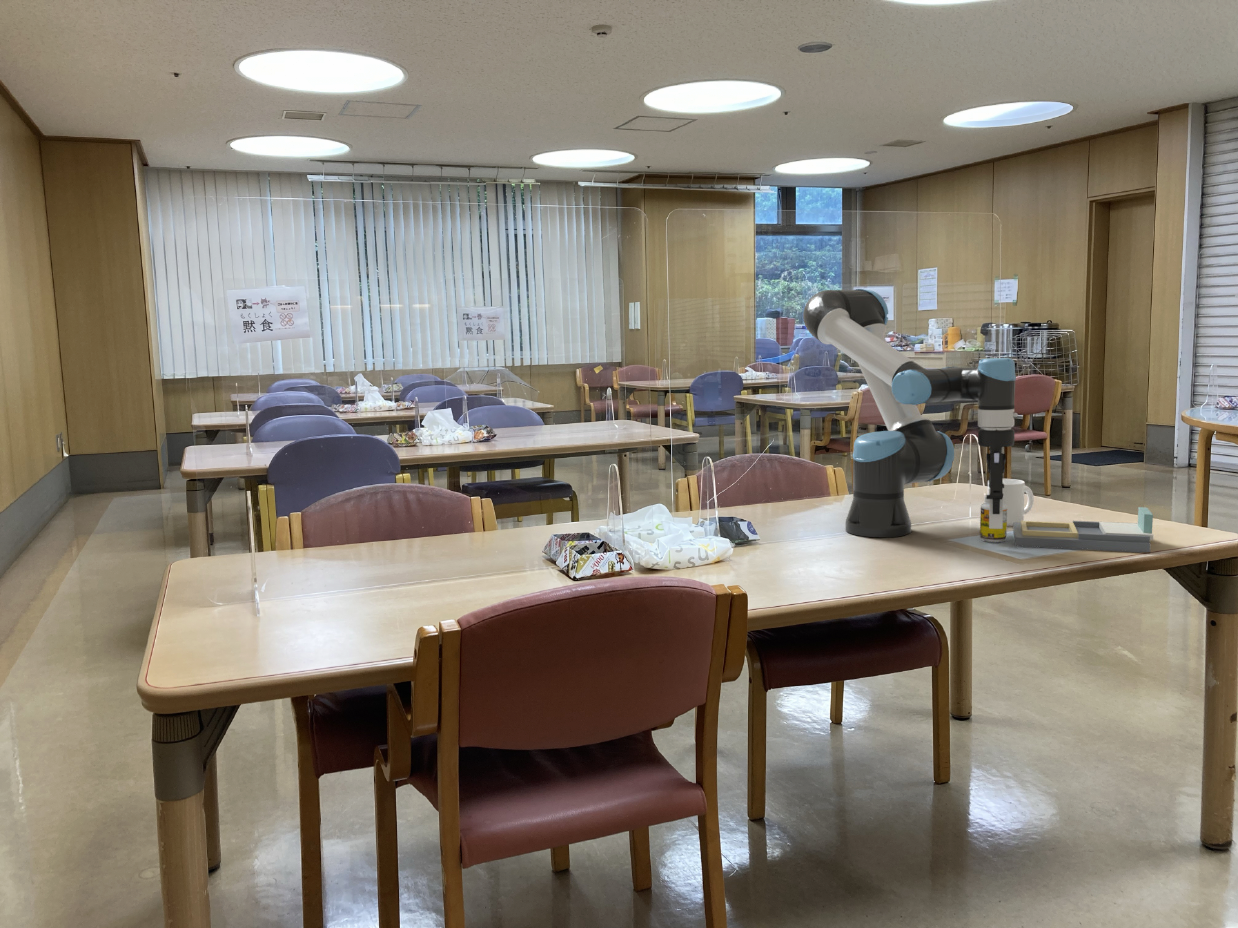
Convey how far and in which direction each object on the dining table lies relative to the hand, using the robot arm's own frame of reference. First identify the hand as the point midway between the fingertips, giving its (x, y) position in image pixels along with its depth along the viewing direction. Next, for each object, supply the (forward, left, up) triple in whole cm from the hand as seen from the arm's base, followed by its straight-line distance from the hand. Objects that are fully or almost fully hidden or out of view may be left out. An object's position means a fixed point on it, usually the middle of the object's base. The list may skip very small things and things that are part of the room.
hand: (995, 522), depth 212 cm
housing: (+16, +3, -4) cm, 17 cm away
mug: (+4, +21, -4) cm, 22 cm away
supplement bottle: (0, 0, -4) cm, 4 cm away
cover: (+26, +3, -2) cm, 27 cm away
